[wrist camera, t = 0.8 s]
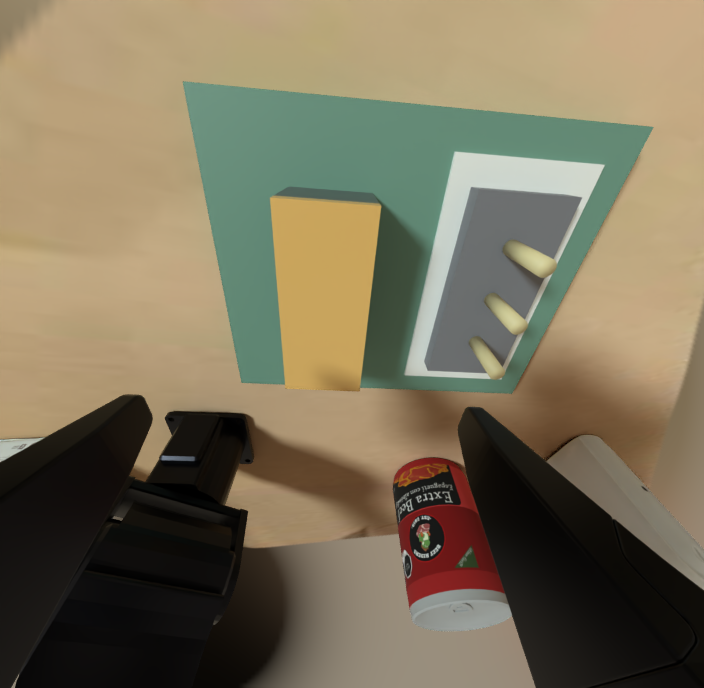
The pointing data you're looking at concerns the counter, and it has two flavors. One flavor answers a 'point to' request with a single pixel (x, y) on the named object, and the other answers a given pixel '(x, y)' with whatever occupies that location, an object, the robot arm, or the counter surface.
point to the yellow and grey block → (324, 283)
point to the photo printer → (629, 502)
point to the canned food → (445, 550)
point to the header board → (412, 222)
